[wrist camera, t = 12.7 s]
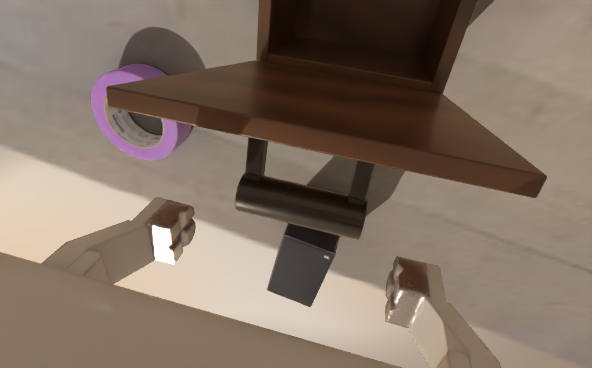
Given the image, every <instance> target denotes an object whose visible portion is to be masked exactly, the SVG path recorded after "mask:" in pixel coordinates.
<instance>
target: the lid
mask: <svg viewBox="0 0 592 368" xmlns="http://www.w3.org/2000/svg"><path fill="white" fill-rule="evenodd" d="M106 92H107V103H108V107H110V108H114V109H119V110H123V111H128V112H133V113H137V114H142V115H147V116H152V117H156V118H161V119H166V120H170V121H175V122H180V123H184V124H189V125H194V126H199V127H203V128H208V129H213V130H217V131H222V132H227V133H231V134H236V135H241V136H246V137H249V138H248V149H247V160H246V171H245V173H244V175H243V176H242V178H241V180H240V182H239V185H238V188H237V192H236V198H235V206H236V209H237V210H238V211H241V212H245V213H249V214H253V215H257V216H261V217H266V218H270V219H274V220H278V221H282V222H286V223H290V224H294V225H298V226H302V227H306V228H311V229H315V230H319V231H323V232H327V233H331V234H335V235H339V236H343V237H347V238H351V239H356V240H359V238H360V236H361V233H362V229H363V226H364V221H365V217H366V212H367V205H368V201H367V199H366V195H367V192H368V188H369V184H370V180H371V177H372V173H373V169H374V165H375V164H377V165H382V166H386V167H391V168H396V169H401V170H405V171H410V172H415V173H419V174H424V175H429V176H433V177H438V178H443V179H448V180H452V181H457V182H462V183H466V184H471V185H476V186H480V187H485V188H490V189H494V190H499V191H504V192H509V193H513V194H518V195H523V196H527V197H532V198H536V197H537V196H538V194H539V192H540V190H541V188H542V186H543V184H544V182H545V180H546V179H547V176H546V175H545V174H544V173H542V172H541V171H540V170H539V169H537V168H536V167H535V166H533V165H532V164H531V163H530V162H528V161H527V160H526V159H525V158H523V157H522V156H521V155H519V154H518V153H517V152H516V151H514V150H513V149H512V148H510V147H509V146H508V145H507V144H505V143H504V142H503V141H502V140H500V139H499V138H498V137H496V136H495V135H494V134H493V133H491V132H490V131H489V130H488V129H486V128H485V127H484V126H482V125H481V124H480V123H479V122H477V121H476V120H475V119H474V118H472V117H471V116H470V115H468V114H467V113H466V112H465V111H463V110H462V109H461V108H460V107H458V106H457V105H456V104H454V103H453V102H452V101H451V100H449V99H448V98H447V97H446V96H444V95H443V94H438V93H432V92H427V91H421V90H416V89H410V88H405V87H399V86H393V85H388V84H382V83H377V82H371V81H366V80H360V79H355V78H349V77H344V76H338V75H333V74H327V73H322V72H316V71H310V70H305V69H299V68H294V67H288V66H283V65H277V64H272V63H266V62H261V61H250V62H244V63H238V64H232V65H227V66H221V67H215V68H209V69H203V70H198V71H192V72H186V73H180V74H174V75H169V76H163V77H157V78H151V79H146V80H140V81H134V82H128V83H122V84H117V85H111V86H107V87H106ZM268 141H269V142H274V143H278V144H283V145H288V146H292V147H297V148H302V149H307V150H311V151H316V152H321V153H325V154H330V155H335V156H339V157H344V158H349V159H354V160H357V161H356V165H355V169H354V173H353V177H352V181H351V186H350V190H349V194H348V195H346V194H342V193H338V192H333V191H329V190H324V189H320V188H316V187H311V186H307V185H302V184H298V183H294V182H289V181H285V180H280V179H276V178H272V177H267V176H264V171H265V163H266V154H267V146H268Z"/></svg>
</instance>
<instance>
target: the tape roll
mask: <svg viewBox="0 0 592 368" xmlns="http://www.w3.org/2000/svg"><path fill="white" fill-rule="evenodd" d="M163 76H168V75H167V74H165V73H164V72H162V71H161V70H159V69H157V68H155V67H152V66H150V65H146V64H129V65H126V66H124V67H121V68H118V69H116V70H113V71H110V72H108V73H105V74H104V75H102V76H101V77H100V78H98V80H97V81H96V82H95V84H94V86H93V89H92V93H91V104H92V110H93V113H94V116H95V119H96V121H97V123H98V125H99V127H100V128H101V130H102V131H103V133H104V134H105V135H106V136H107V138H108V139H109V140H110V141H111V142H112V143H113V144H114V145H116V146H117V147H118V148H119V149H121V150H122V151H124V152H125V153H127V154H129V155H131V156H133V157H136V158H139V159H143V160H158V159H161V158H164V157H166V156H167V155H169V154H170V153H171V152H172V151H173V150H175V149H176V148H177V147H178V146H179V145H181V144H182V143H183V142H184V141H185V140H186V138H187V137H188V135H189V133H190V130H191V126H192V125H189V124H184V123H180V122H175V121H170V120H166V119H161V120H162V125H163V133H162V135H161V136H160V135H153V134H150V133H148V132H146V131H144V130H143V129H141V128H140V127H139V126H138V125H137V124H136V123H135V122H134V121H133V120H132V118H131V117H130V115H129V114H128V112H127V111H123V110H119V109H114V108H110V107H108V103H107V92H106V87H107V86H111V85H117V84H122V83H128V82H134V81H140V80H146V79H151V78H157V77H163Z"/></svg>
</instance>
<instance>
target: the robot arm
mask: <svg viewBox="0 0 592 368" xmlns="http://www.w3.org/2000/svg"><path fill="white" fill-rule="evenodd" d="M193 215H194V208H193V207H192V206H189V205H186V204H182V203H178V202H175V201H171V200H166V199H163V198H159V197H158V198H155V199H154V200H153V201H152V202H151V203H150V204H149V205H148V206H147V207H146V208H144V210H143V211H141V212H140V213H139V215H137V216H136V217H135V218H134V219H133V220H132V221H129V220H127V221H125V222H122V223H119V224H116V225H113V226H111V227H108V228H105V229H102V230H100V231H97V232H94V233H91V234H88V235H85V236H83V237H80V238H77V239H74V240H72V241H69V242H66V243H65V244H64V245H62V246H61V247H60V248H59V249H58V250H57V251H55V252H54V253H53V254H52V255H51V256H49V257H48V258H47V259H46V260H45V261H44V262H42V263H41V264H40V263H36V262H33V261H30V260H26V259H23V258H19V257H15V256H12V255H9V254H5V253H1V252H0V368H401V367H398V366H395V365H391V364H388V363H384V362H381V361H377V360H374V359H370V358H367V357H363V356H360V355H356V354H353V353H350V352H346V351H343V350H339V349H335V348H332V347H329V346H325V345H321V344H318V343H315V342H311V341H307V340H304V339H301V338H297V337H294V336H290V335H287V334H283V333H280V332H276V331H273V330H270V329H266V328H263V327H259V326H256V325H252V324H249V323H245V322H242V321H238V320H235V319H231V318H228V317H224V316H221V315H217V314H214V313H210V312H207V311H203V310H200V309H196V308H193V307H190V306H186V305H183V304H179V303H175V302H172V301H169V300H165V299H161V298H158V297H155V296H151V295H148V294H144V293H141V292H137V291H134V290H130V289H127V288H124V287H120V286H116V285H113V284H114V283H116V282H118V281H120V280H121V279H123V278H125V277H126V276H128V275H130V274H132V273H133V272H135V271H137V270H139V269H140V268H142V267H144V266H146V265H147V264H149V263H151V262H153V261H154V259H155V260H159V261H163V262H167V263H171V264H175V262H176V261H177V260H178V258H179V257H180V256H181V254H182V252H183V249H182V247H184V246H186V245H188V244H189V243H190V242H191V240H192V238H193V236H194V233H195V222H194V220H193V219H192V217H193ZM386 297H387V299H388V301H387V304H386V306H385V308H386V309H385V313H386V314H385V320H386V322H389V323H392V324H396V325H399V326H402V327H406V328H409V331H410V333H411V335H412V337H413V339H414V340H415V342H416V344H417V346H418V347H419V349H420V351H421V353H422V355H423V357H424V359H425V360H426V362H427V364H428V366H429V368H501V366H500V363H499V361H498V360H497V359H496V357H495V356H494V355H493V354H492V352H491V351H490V350H489V349H488V348H487V347H486V345H485V344H484V343H483V342H482V340H481V339H480V338H479V337H478V336H477V334H476V333H475V332H474V331H473V330H472V329H471V327H470V326H469V325H468V324H467V323H466V321H465V320H464V319H463V318H462V317H461V315H460V314H459V313H458V312H457V311H456V309H455V308H454V307H453V306H452V305H451V303H448V302H446V298H445V293H444V287H443V281H442V276H441V270H440V267H439V266H437V265H433V264H428V263H423V262H419V261H415V260H411V259H407V258H402V257H398V256H397V257H396V259H395V261H394V263H393V270H392V271H390V273H389V276H388V280H387V284H386Z"/></svg>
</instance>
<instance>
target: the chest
mask: <svg viewBox="0 0 592 368" xmlns="http://www.w3.org/2000/svg"><path fill="white" fill-rule="evenodd" d="M476 1H477V0H259V16H258V38H257V61H261V62H266V63H272V64H277V65H283V66H288V67H294V68H299V69H305V70H310V71H316V72H322V73H327V74H333V75H338V76H344V77H349V78H355V79H360V80H366V81H371V82H377V83H382V84H388V85H393V86H399V87H405V88H410V89H416V90H421V91H427V92H432V93H438V94H443V91H444V88H445V86H446V83H447V80H448V78H449V75H450V72H451V69H452V67H453V64H454V61H455V59H456V56H457V53H458V50H459V48H460V45H461V42H462V39H463V37H464V34H465V31H466V29H467V26H468V23H469V20H470V18H471V15H472V12H473V10H474V7H475V4H476Z"/></svg>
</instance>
